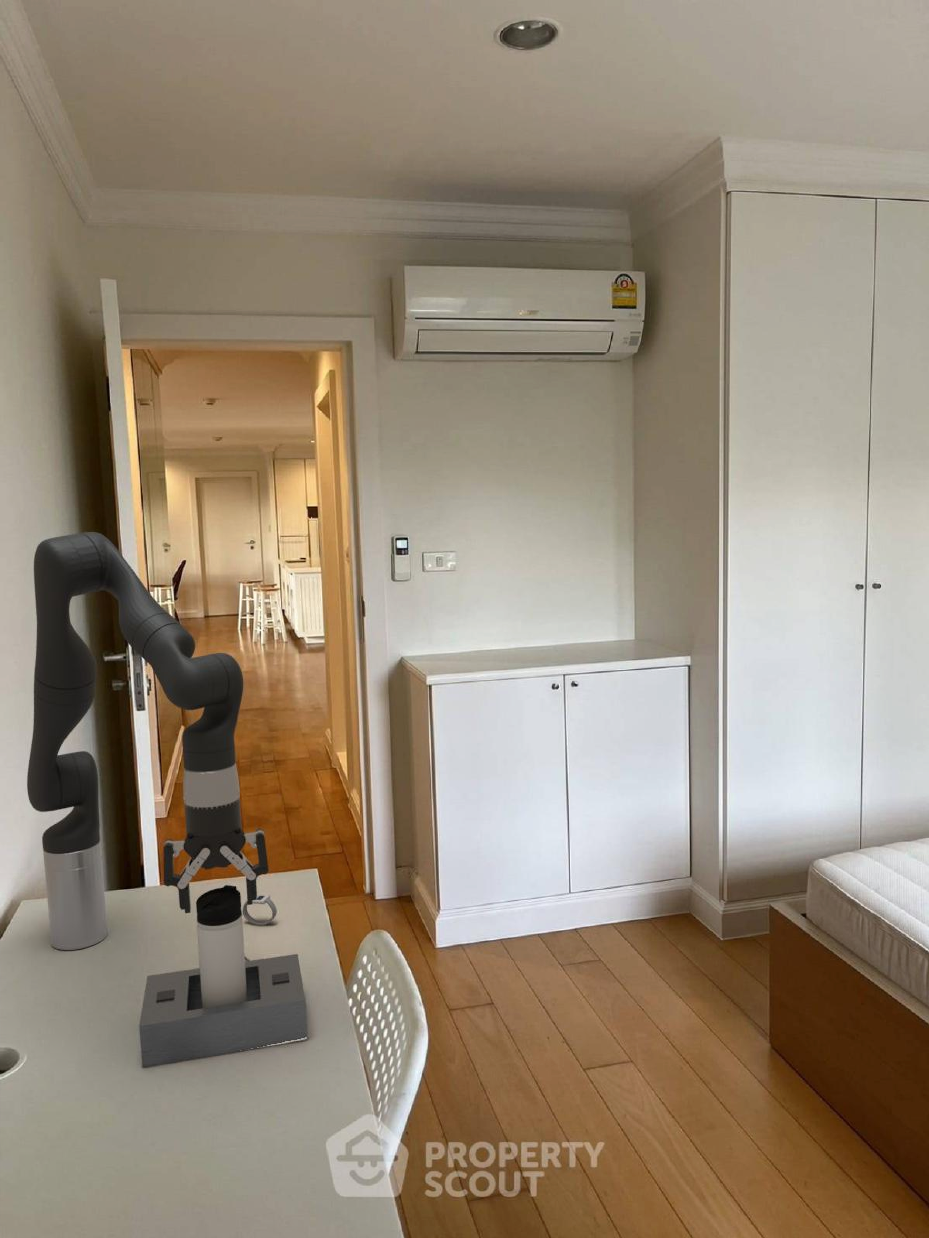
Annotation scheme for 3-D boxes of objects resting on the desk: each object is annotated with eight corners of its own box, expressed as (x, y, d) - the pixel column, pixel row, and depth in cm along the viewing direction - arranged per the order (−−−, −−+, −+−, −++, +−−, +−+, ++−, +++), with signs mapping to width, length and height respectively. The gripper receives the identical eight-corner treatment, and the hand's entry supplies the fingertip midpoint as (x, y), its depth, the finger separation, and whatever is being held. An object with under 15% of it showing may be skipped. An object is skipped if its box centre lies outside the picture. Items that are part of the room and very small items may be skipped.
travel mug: (258, 1017, 136) (250, 886, 134) (232, 1041, 130) (224, 905, 127) (221, 1010, 138) (213, 882, 136) (194, 1034, 132) (186, 900, 129)
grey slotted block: (150, 1013, 138) (147, 974, 137) (299, 990, 143) (297, 952, 142) (142, 1067, 124) (139, 1024, 124) (307, 1039, 130) (305, 998, 129)
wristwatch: (241, 925, 166) (239, 899, 166) (247, 919, 169) (246, 893, 168) (272, 928, 165) (271, 901, 164) (279, 921, 168) (277, 895, 167)
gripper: (262, 783, 135) (268, 890, 137) (160, 794, 132) (168, 902, 134) (265, 799, 128) (271, 911, 130) (156, 810, 124) (165, 925, 126)
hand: (219, 906), depth 132 cm, fingers open, 8 cm apart
